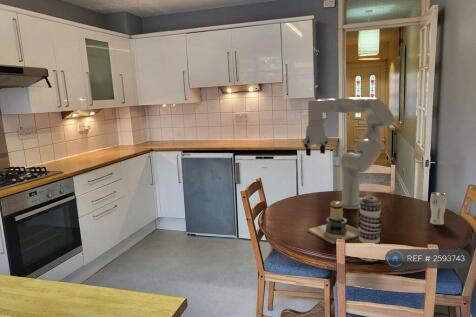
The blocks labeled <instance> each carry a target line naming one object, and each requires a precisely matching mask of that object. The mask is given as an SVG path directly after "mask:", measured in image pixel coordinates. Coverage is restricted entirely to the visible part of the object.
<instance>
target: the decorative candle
mask: <svg viewBox="0 0 476 317" xmlns="http://www.w3.org/2000/svg"><path fill="white" fill-rule="evenodd" d="M362 198H363V199H362V200H360V208H359V210H358V211H357V218H358V220H357V221H358V224H357V225H358V229H359V230H360V235H359V237H358V240H357V243H375V244H379V245H381V240H380V239H381V238H380V232H381V229H382V225H381V224H382V223H383V222H382V220H383V218H382V215H383V211H381V210H382V209H381V204H382V201H380V200H379V198H378V197H376V196H373V195H372V196H369V195H368V196H364V197H362ZM359 259H361V260H363V261H366V262H377V261H378V260H372V259H364V258H359Z"/></svg>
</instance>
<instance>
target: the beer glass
mask: <svg viewBox="0 0 476 317" xmlns="http://www.w3.org/2000/svg"><path fill="white" fill-rule="evenodd" d="M429 203H430V204H429V205H430V206H429V207H430V211H431V212H430V213H431V214H430V220H429V222H430V224H432V225H436V226H443V225H444V224H445V222H444V215H445V211H446V207H447V193H444V192H440V191H439V192H438V191H437V192H436V191H434V192H431V195H430V200H429Z"/></svg>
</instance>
